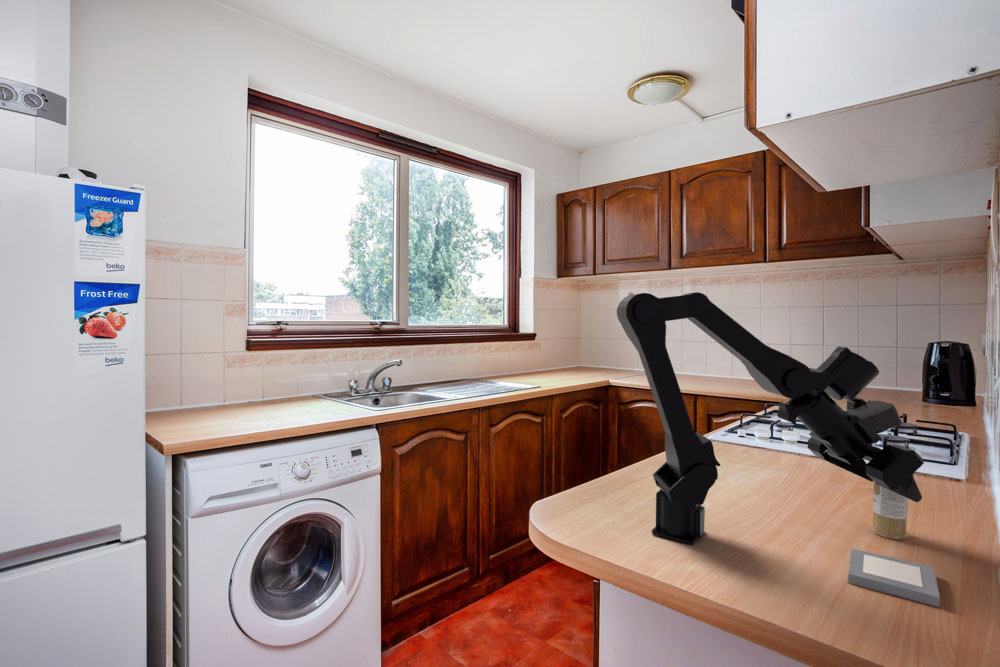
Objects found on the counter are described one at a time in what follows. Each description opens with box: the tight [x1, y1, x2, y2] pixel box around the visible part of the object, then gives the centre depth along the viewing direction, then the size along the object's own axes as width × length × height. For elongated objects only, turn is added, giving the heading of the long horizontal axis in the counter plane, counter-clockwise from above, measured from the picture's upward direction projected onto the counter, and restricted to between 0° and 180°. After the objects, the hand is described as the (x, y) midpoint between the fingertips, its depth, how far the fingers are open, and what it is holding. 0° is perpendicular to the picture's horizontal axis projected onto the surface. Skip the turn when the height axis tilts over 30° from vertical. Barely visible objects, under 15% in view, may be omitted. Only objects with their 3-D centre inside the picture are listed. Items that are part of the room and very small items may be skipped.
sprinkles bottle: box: [871, 447, 909, 540], centre depth 79 cm, size 5×5×13 cm
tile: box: [847, 547, 941, 608], centre depth 66 cm, size 9×9×1 cm
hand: (895, 489), depth 79 cm, fingers open, 9 cm apart
